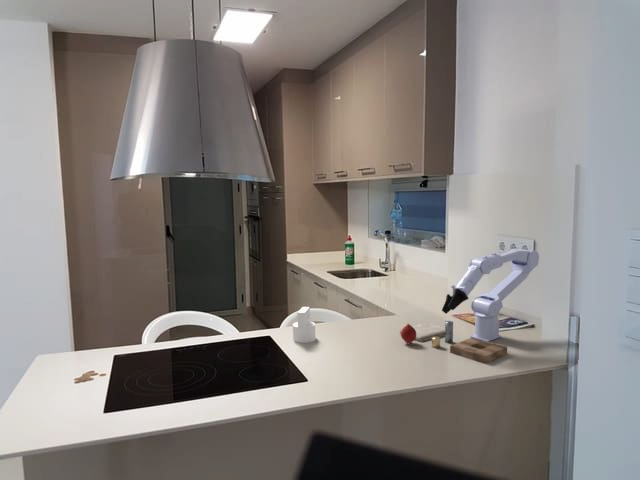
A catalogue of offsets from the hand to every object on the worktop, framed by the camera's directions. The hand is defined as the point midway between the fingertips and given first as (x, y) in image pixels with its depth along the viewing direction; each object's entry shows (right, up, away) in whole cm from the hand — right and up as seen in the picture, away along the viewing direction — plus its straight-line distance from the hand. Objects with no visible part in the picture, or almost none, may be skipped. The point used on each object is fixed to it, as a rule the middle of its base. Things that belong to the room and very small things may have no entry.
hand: (447, 310), depth 167 cm
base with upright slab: (-54, -14, +13) cm, 57 cm away
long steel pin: (+2, -13, +6) cm, 15 cm away
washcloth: (-4, -13, +16) cm, 21 cm away
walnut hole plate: (+10, -14, -6) cm, 18 cm away
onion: (-13, -14, +5) cm, 20 cm away
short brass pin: (-4, -14, +1) cm, 15 cm away
